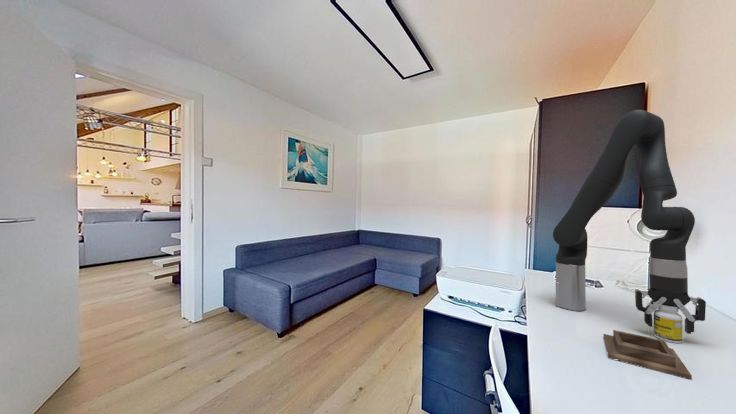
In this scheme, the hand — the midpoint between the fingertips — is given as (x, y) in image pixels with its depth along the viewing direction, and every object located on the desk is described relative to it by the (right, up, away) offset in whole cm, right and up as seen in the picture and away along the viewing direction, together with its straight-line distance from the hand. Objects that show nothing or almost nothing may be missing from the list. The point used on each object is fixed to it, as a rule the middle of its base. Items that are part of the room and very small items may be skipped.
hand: (668, 329), depth 78 cm
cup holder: (-17, -3, -8) cm, 19 cm away
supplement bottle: (0, -3, 0) cm, 3 cm away
